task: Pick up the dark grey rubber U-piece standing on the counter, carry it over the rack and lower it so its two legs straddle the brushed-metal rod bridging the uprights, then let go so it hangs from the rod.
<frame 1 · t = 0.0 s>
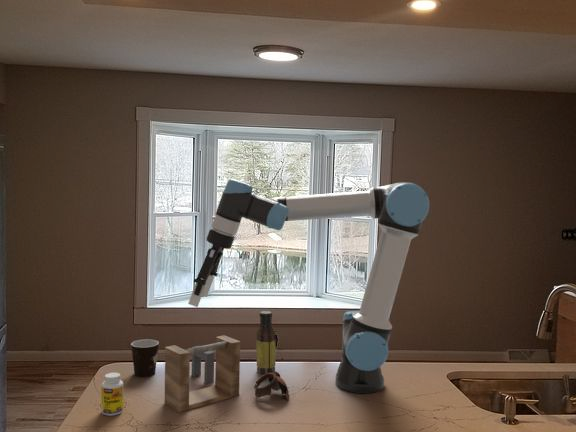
hand: (197, 300, 164), 28 cm above the worktop, tool tilted 20°, fingers open, 13 cm apart
rack: (204, 399, 161), on the worktop
u piece: (202, 378, 178), on the worktop
coffee mug: (141, 375, 179), on the worktop
sauce bottle: (265, 371, 186), on the worktop
brown looped piece: (272, 397, 165), on the worktop
supplement bottle: (112, 412, 151), on the worktop
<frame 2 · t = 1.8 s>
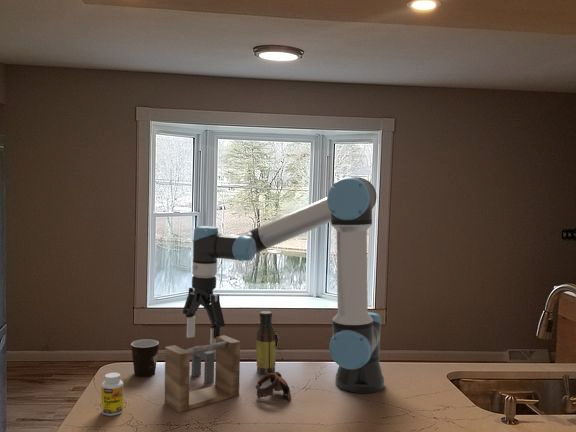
hand: (202, 342, 177), 11 cm above the worktop, tool pointing down, fingers open, 13 cm apart
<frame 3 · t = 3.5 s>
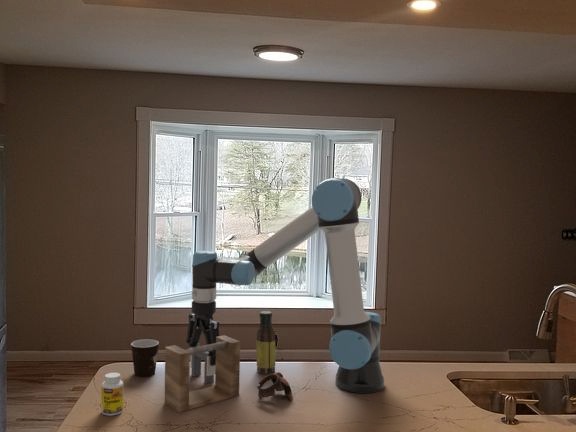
hand: (202, 370, 178), 2 cm above the worktop, tool pointing down, fingers closed on u piece, 9 cm apart
u piece: (202, 378, 178), on the worktop, touching gripper
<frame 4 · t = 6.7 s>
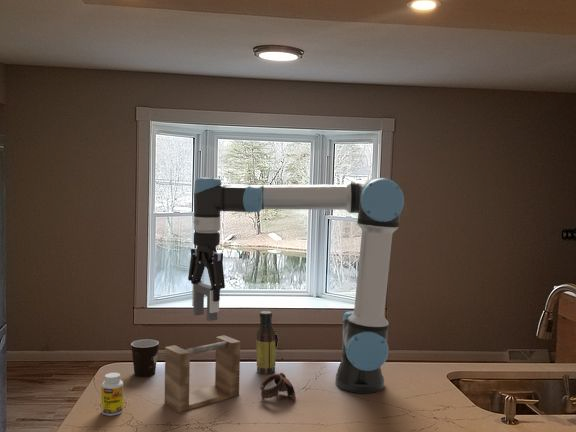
hand: (205, 308, 163), 25 cm above the worktop, tool pointing down, fingers closed on u piece, 9 cm apart
u piece: (205, 317, 164), point 23 cm above the worktop, touching gripper
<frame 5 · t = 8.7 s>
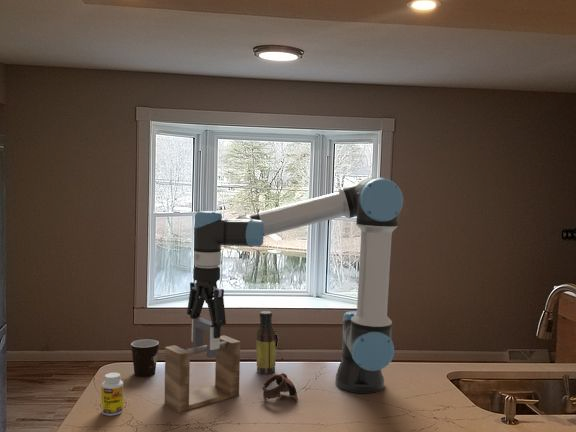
hand: (205, 344, 160), 16 cm above the worktop, tool pointing down, fingers closed on u piece, 9 cm apart
u piece: (204, 353, 160), point 14 cm above the worktop, touching gripper
when the fingers open (14 cm above the worktop, at t = 10.1 s): u piece drops 3 cm, resting on rack.
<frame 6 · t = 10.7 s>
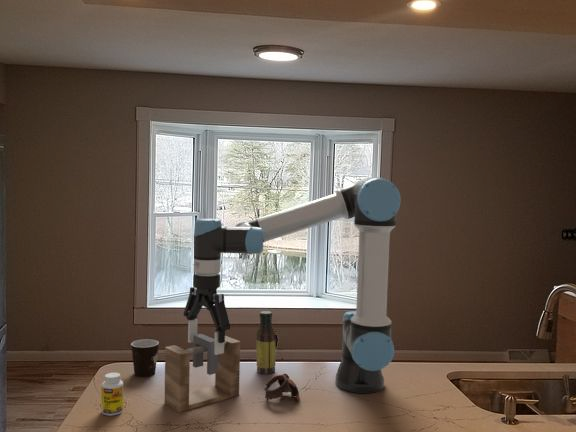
hand: (205, 347, 160), 15 cm above the worktop, tool pointing down, fingers open, 13 cm apart
u piece: (204, 369, 160), point 9 cm above the worktop, touching rack
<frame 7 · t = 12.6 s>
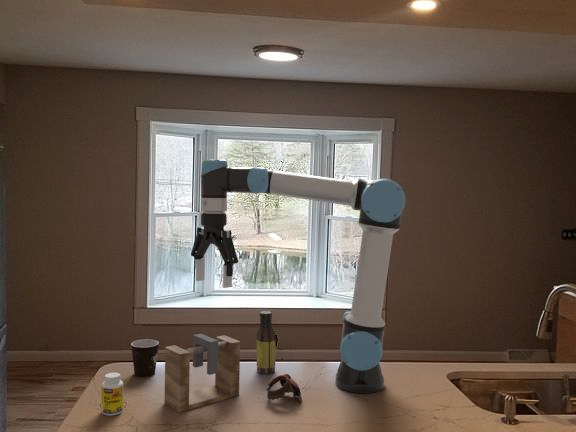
hand: (213, 283, 167), 32 cm above the worktop, tool pointing down, fingers open, 13 cm apart
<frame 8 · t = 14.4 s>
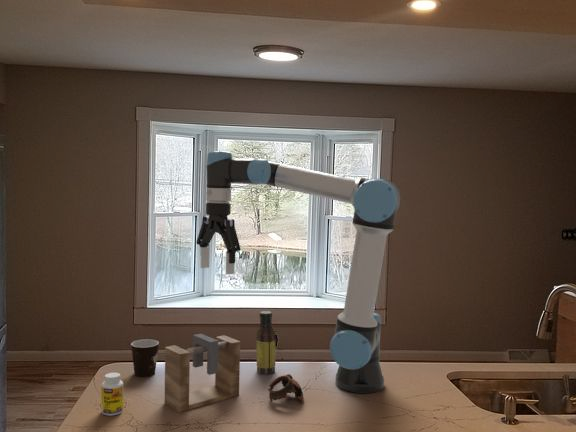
hand: (217, 270, 174), 35 cm above the worktop, tool pointing down, fingers open, 13 cm apart
at the end: u piece 0.1 cm from the rack (horizontally); u piece point 8.9 cm above the worktop; the gripper is holding nothing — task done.
